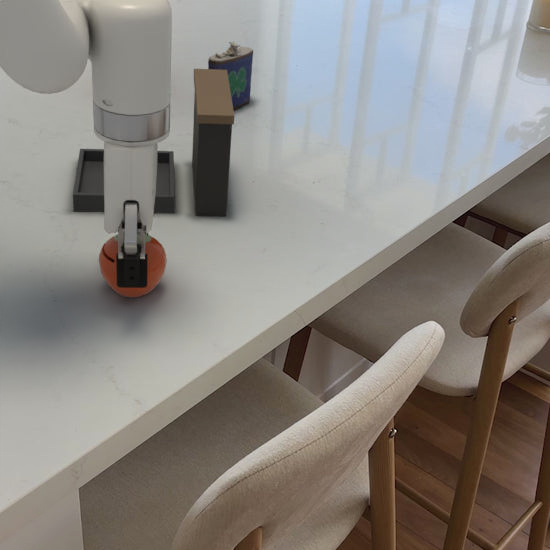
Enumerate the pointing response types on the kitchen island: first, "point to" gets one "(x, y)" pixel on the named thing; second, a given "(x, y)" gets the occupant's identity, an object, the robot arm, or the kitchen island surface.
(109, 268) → the tomato
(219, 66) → the flask
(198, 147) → the tower
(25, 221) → the kitchen island surface
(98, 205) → the pan
